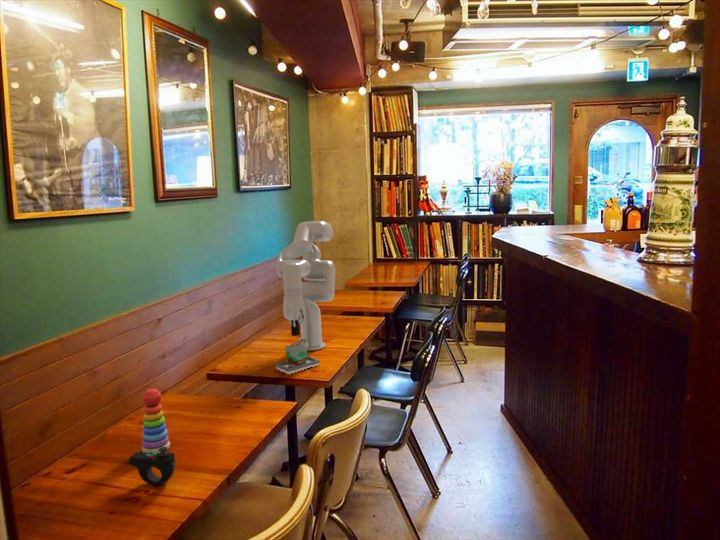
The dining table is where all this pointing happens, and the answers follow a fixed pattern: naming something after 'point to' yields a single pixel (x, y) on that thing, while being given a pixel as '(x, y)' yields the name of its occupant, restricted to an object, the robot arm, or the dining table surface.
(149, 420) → the stacking toy
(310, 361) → the framed board
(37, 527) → the dining table surface
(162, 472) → the controller
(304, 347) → the food container
